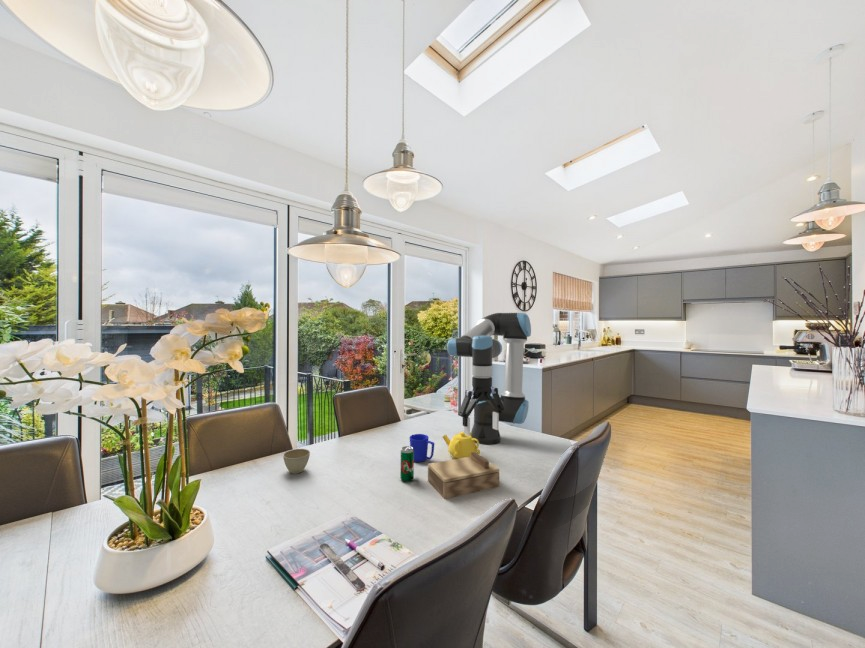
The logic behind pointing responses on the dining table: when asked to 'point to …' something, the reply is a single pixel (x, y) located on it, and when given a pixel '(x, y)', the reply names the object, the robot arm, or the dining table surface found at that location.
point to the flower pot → (296, 460)
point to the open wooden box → (463, 484)
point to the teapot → (461, 445)
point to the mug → (421, 447)
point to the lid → (462, 468)
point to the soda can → (407, 464)
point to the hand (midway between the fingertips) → (481, 431)
